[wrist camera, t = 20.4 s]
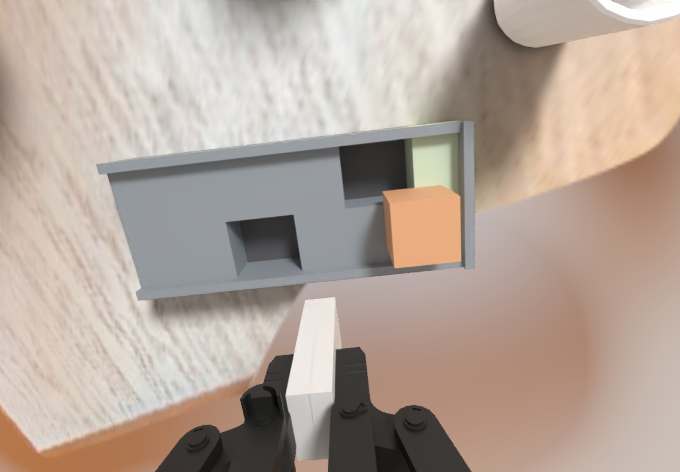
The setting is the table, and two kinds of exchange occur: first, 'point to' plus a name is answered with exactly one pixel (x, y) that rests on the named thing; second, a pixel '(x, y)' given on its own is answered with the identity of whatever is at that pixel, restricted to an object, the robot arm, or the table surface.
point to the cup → (577, 18)
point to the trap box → (284, 208)
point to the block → (422, 226)
